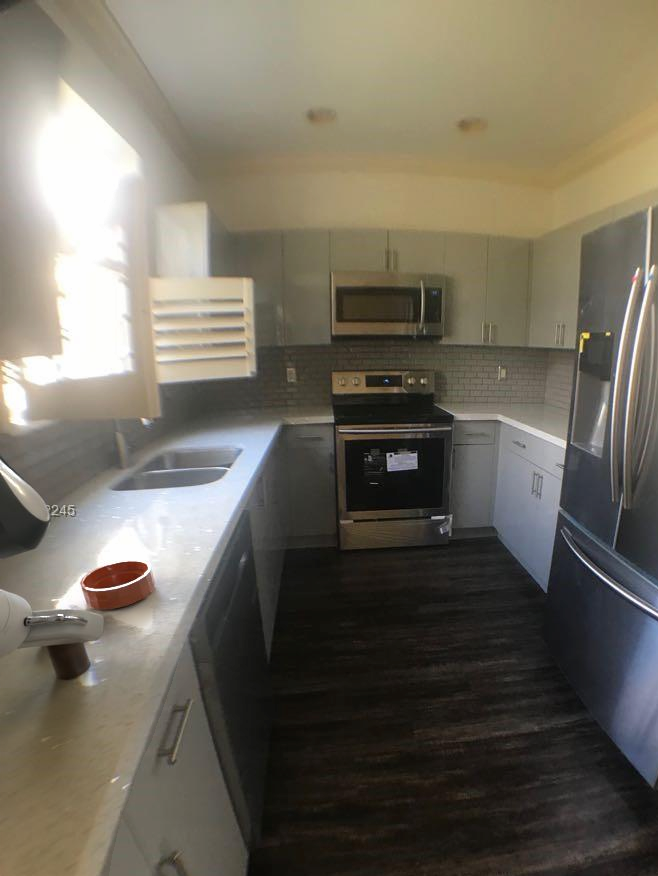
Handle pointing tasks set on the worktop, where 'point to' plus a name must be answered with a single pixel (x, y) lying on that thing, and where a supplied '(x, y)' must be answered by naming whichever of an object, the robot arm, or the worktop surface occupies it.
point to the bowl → (118, 584)
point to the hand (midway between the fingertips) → (51, 640)
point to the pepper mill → (68, 659)
